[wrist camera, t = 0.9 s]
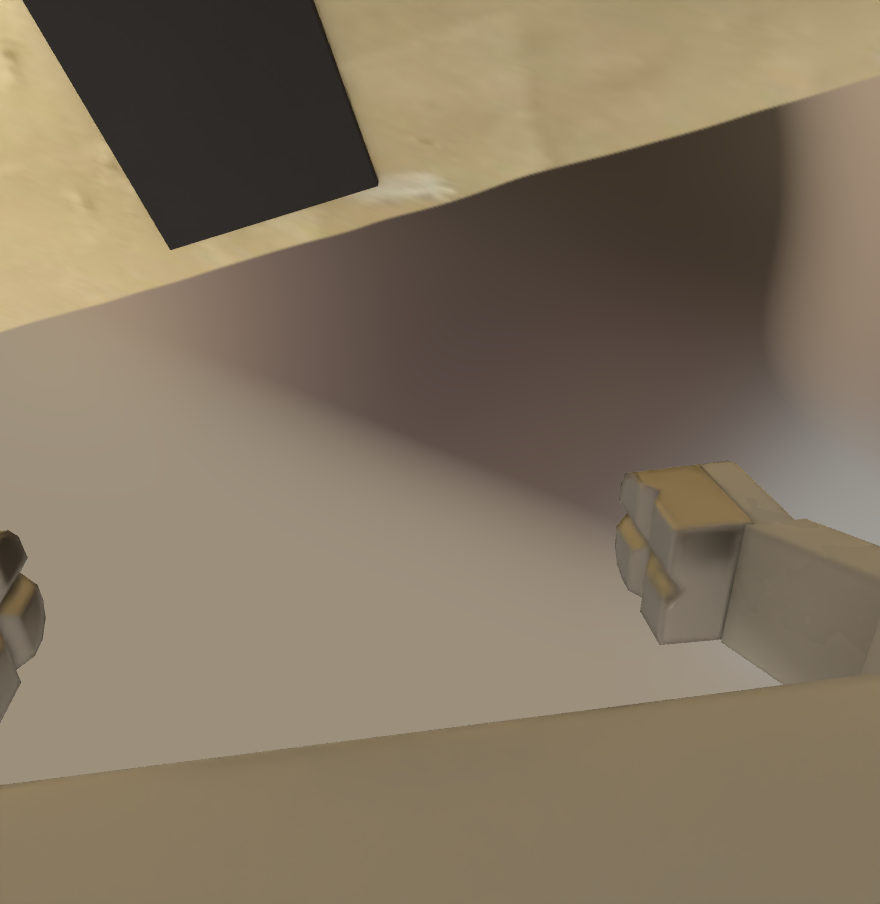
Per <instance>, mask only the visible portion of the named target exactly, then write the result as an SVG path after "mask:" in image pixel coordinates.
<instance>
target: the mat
mask: <svg viewBox="0 0 880 904" xmlns="http://www.w3.org/2000/svg"><path fill="white" fill-rule="evenodd" d="M23 2H24V4H25V5H26V7H27V9H28V10H29V12H30V14H31V15H32V17H33V19H34V20H35V22H36V24H37V26H38V27H39V29H40V31H41V32H42V34H43V36H44V37H45V39H46V41H47V42H48V44H49V46H50V47H51V49H52V51H53V53H54V54H55V56H56V58H57V59H58V61H59V63H60V64H61V66H62V68H63V69H64V71H65V73H66V75H67V76H68V78H69V80H70V81H71V83H72V85H73V86H74V88H75V90H76V91H77V93H78V95H79V96H80V98H81V100H82V102H83V103H84V105H85V107H86V108H87V110H88V112H89V113H90V115H91V117H92V118H93V120H94V122H95V124H96V125H97V127H98V129H99V130H100V132H101V134H102V135H103V137H104V139H105V140H106V142H107V144H108V145H109V147H110V149H111V151H112V152H113V154H114V156H115V157H116V159H117V161H118V162H119V164H120V166H121V167H122V169H123V171H124V173H125V174H126V176H127V178H128V179H129V181H130V183H131V184H132V186H133V188H134V189H135V191H136V193H137V194H138V196H139V198H140V200H141V201H142V203H143V205H144V206H145V208H146V210H147V211H148V213H149V215H150V216H151V218H152V220H153V222H154V223H155V225H156V227H157V228H158V230H159V232H160V233H161V235H162V237H163V238H164V240H165V242H166V243H167V245H168V247H169V249H170V250H172V249H176V248H179V247H182V246H185V245H189V244H192V243H195V242H198V241H201V240H205V239H208V238H211V237H214V236H218V235H221V234H224V233H227V232H231V231H234V230H237V229H240V228H244V227H247V226H250V225H253V224H256V223H260V222H263V221H266V220H269V219H273V218H276V217H279V216H282V215H286V214H289V213H292V212H295V211H299V210H302V209H305V208H308V207H311V206H315V205H318V204H321V203H324V202H328V201H331V200H334V199H337V198H341V197H344V196H347V195H350V194H353V193H357V192H360V191H363V190H366V189H370V188H373V187H376V186H378V179H377V176H376V174H375V171H374V168H373V165H372V163H371V160H370V157H369V154H368V151H367V149H366V146H365V143H364V140H363V137H362V135H361V132H360V129H359V126H358V124H357V121H356V118H355V115H354V112H353V110H352V107H351V104H350V101H349V98H348V96H347V93H346V90H345V87H344V84H343V82H342V79H341V76H340V73H339V71H338V68H337V65H336V62H335V59H334V57H333V54H332V51H331V48H330V45H329V43H328V40H327V37H326V34H325V32H324V29H323V26H322V23H321V20H320V18H319V15H318V12H317V9H316V6H315V4H314V1H313V0H23Z"/></svg>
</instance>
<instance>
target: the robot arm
mask: <svg viewBox="0 0 880 904" xmlns="http://www.w3.org/2000/svg"><path fill="white" fill-rule="evenodd" d="M619 500H620V502H621V503H622V505H623V506H624V508H625V509H626V511H627V514H626V515H625V517H624V518H623V519H622V520H621V521H620V523H619V524H618V525H617V526H616V540H615V550H616V558H617V565H618V568H619V571H620V574H621V577H622V579H623V581H624V583H625V585H626V587H627V588H628V590H629V591H631V592H633V593H634V594H636V595H638V596H640V597H642V602H641V603H642V604H641V613H642V615H643V617H644V619H645V620H646V622H647V624H648V625H649V627H650V629H651V631H652V632H653V634H654V636H655V638H656V639H657V641H658V643H659V644H660V645H665V644H676V643H687V642H697V641H707V640H708V641H709V640H719V639H722V641H721V642H722V643H723V644H725V645H726V646H728V647H729V648H731V649H732V650H733V651H735V652H736V653H738V654H739V655H741V656H742V657H744V658H745V659H747V660H748V661H750V662H751V663H752V664H754V665H756V666H757V667H758V668H760V669H761V670H763V671H764V672H766V673H767V674H768V675H770V676H771V677H773V678H774V679H776V680H777V681H779V682H780V683H782V684H783V685H780V686H772V687H764V688H756V689H749V690H741V691H733V692H725V693H717V694H709V695H702V696H694V697H686V698H679V699H670V700H663V701H655V702H647V703H639V704H632V705H624V706H616V707H608V708H601V709H593V710H585V711H577V712H570V713H561V714H554V715H546V716H538V717H531V718H522V719H515V720H507V721H499V722H491V723H484V724H475V725H467V726H460V727H452V728H445V729H437V730H428V731H421V732H413V733H406V734H397V735H390V736H382V737H374V738H366V739H359V740H350V741H343V742H335V743H327V744H319V745H311V746H303V747H296V748H288V749H280V750H272V751H264V752H256V753H249V754H241V755H233V756H225V757H217V758H209V759H201V760H194V761H186V762H178V763H170V764H162V765H154V766H146V767H139V768H131V769H123V770H115V771H107V772H99V773H92V774H84V775H77V776H68V777H61V778H52V779H45V780H37V781H30V782H22V783H13V784H5V785H0V904H880V546H878V545H875V544H872V543H870V542H867V541H864V540H862V539H859V538H856V537H854V536H851V535H848V534H845V533H843V532H840V531H837V530H835V529H832V528H829V527H826V526H824V525H821V524H818V523H816V522H813V521H810V520H808V519H798V520H794V519H793V518H792V517H791V516H790V515H789V514H788V513H787V512H786V511H785V510H784V509H783V508H782V507H781V506H780V505H779V504H778V503H777V502H776V501H775V500H774V499H773V498H771V497H770V496H769V495H768V494H767V493H766V492H765V491H764V490H763V489H762V488H761V487H760V486H759V485H758V484H757V483H756V482H755V481H754V480H753V479H752V478H751V477H750V476H749V475H748V474H747V473H746V472H745V471H744V470H742V469H741V468H740V467H739V466H738V465H737V464H736V463H734V462H730V461H720V462H713V463H706V464H698V465H691V466H682V467H673V468H666V469H657V470H648V471H640V472H632V473H626V474H625V475H624V477H623V480H622V483H621V489H620V497H619ZM26 560H27V555H26V553H25V551H24V548H23V546H22V544H21V541H20V539H19V537H18V536H17V535H15V534H13V533H12V532H10V531H8V530H7V531H0V722H1V720H2V718H3V716H4V714H5V712H6V710H7V709H8V706H9V705H10V703H11V701H12V699H13V697H14V695H15V693H16V691H17V689H18V687H19V686H20V684H21V681H20V679H19V676H18V674H17V671H16V670H17V669H18V668H19V667H21V666H22V665H23V664H25V663H26V662H27V661H29V660H30V659H31V658H33V657H34V656H35V654H36V652H37V650H38V648H39V646H40V644H41V642H42V639H43V632H44V625H45V610H44V603H43V598H42V596H41V593H40V590H39V587H38V585H37V584H35V583H34V582H32V581H31V580H30V579H28V578H27V577H26V576H24V575H23V574H21V573H20V572H21V570H22V568H23V566H24V563H25V562H26Z"/></svg>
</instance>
